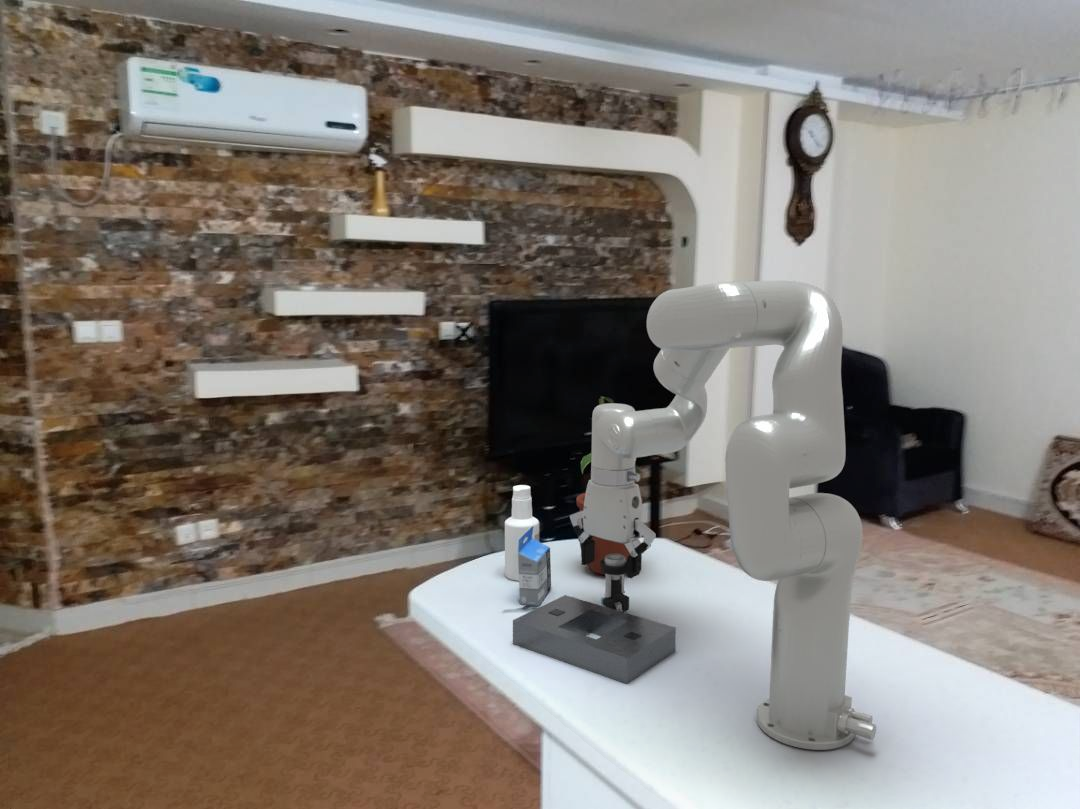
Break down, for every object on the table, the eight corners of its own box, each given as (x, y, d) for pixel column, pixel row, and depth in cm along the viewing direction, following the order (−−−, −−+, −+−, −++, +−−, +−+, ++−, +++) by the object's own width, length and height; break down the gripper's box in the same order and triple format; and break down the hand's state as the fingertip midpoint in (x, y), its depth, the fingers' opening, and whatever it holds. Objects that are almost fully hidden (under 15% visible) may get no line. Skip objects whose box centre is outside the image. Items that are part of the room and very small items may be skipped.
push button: (604, 620, 151) (605, 565, 149) (587, 610, 155) (587, 556, 154) (635, 612, 154) (636, 558, 152) (617, 603, 159) (618, 550, 157)
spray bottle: (546, 575, 173) (546, 486, 170) (522, 584, 168) (522, 493, 165) (521, 567, 177) (521, 481, 174) (497, 575, 172) (496, 487, 169)
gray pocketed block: (675, 651, 139) (675, 626, 138) (626, 683, 128) (627, 657, 127) (565, 616, 152) (565, 594, 152) (512, 643, 142) (512, 619, 141)
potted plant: (562, 569, 176) (563, 398, 170) (614, 552, 186) (616, 390, 181) (627, 593, 163) (630, 408, 158) (679, 573, 174) (684, 399, 168)
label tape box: (539, 606, 157) (539, 541, 155) (517, 604, 158) (517, 539, 156) (551, 589, 165) (552, 527, 163) (531, 587, 166) (531, 525, 164)
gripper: (667, 479, 148) (663, 575, 151) (584, 463, 159) (583, 553, 162) (643, 488, 143) (640, 587, 146) (559, 471, 153) (558, 564, 156)
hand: (610, 569), depth 154 cm, fingers open, 9 cm apart
